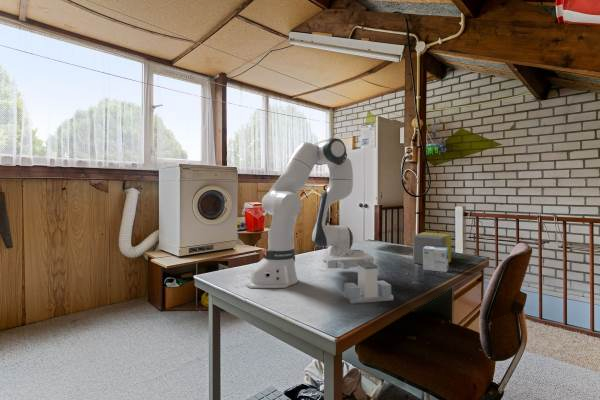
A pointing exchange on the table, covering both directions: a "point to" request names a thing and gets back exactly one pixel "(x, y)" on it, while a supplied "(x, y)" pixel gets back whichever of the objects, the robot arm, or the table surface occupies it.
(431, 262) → the light bulb box
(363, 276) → the block
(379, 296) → the grey flat base plate
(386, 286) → the mounted modules
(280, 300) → the table surface
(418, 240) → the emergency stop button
